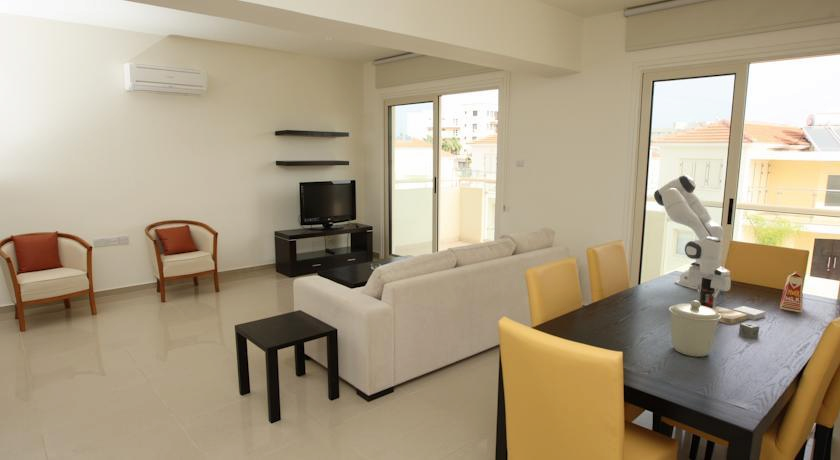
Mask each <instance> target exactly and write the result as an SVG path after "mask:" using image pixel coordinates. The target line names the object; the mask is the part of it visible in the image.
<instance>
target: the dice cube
mask: <svg viewBox="0 0 840 460" xmlns="http://www.w3.org/2000/svg"><path fill="white" fill-rule="evenodd" d="M738 330H739V331H738V336H741V337H745V338H747V339H757V338H759V332H760V325H756V324H753V323H750V322H744V323H739V329H738Z"/></svg>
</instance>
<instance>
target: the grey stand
mask: <svg viewBox="0 0 840 460" xmlns="http://www.w3.org/2000/svg"><path fill="white" fill-rule="evenodd" d="M732 310H733V311H737V312H741V313H744V314H748V318H747V320H748V319H749V320H752V321H756V320H759V319H762V318H765V316H766V311H765V310H760V309H756V308H752V307H750V306H749V307H748V306H745V305H742V306H738V307H735V308H733V309H732Z"/></svg>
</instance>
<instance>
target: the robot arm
mask: <svg viewBox="0 0 840 460" xmlns="http://www.w3.org/2000/svg"><path fill="white" fill-rule="evenodd" d="M695 189H696V184H695V180H694V179H693V178H692V177H691V176H689V175H688V174H687V175H686V174H683V175H680V176H679V177H677V178H675V179H672V180H671V181H669V182H668V183H665V184H664V185H663V186H661V187H659V188H658V189H657V190H655V191H654V194H653V197H654V200H655V202H656V203H657V204H658V205H659V206H662V207H664V209H665V212H666V213H667V216H668V217H669V219H670V220H671V221H672V222H674V223H676V224H680V225H683V226H686V227H688V228H690V229H691V230H692V231H693V232H694V233H695V235H696V237H697V239H696V240H691V241H688V242H687V243H686V244H685V246H684V253H685V256H686V257H688V258H689V259H691V260H695V261H693V262H691V263H690V267H689V269H686V270H684V271H683V272H681V274H680V275H679V279H676V280H674V283H675V284H678V285H680V286H683V287H686V288H689V289H693V290H697V294H700V293H701V284H702V278H706V279H710V280H711V286H710V287H711V288H714V293H712V297H713V298H717V296H718V293H719V292H720V291H723V292H728V291H730V289H731V284H732V282H731V277H730V275H731V271H730V270H729V269H727V268H724V267H723V266H721V257H722V255H723V253H722V252H723V242H722V241H723V239H724V237H725V235H726V234H725V230H724V228H723V227H722V225H720V224H719V223H717V222H715V220H713V219H712V217H711V215H710V213H709V211H708V210H707V208H706V206H705V205H704V203H702V201H701V199H699V197H698V195H697V194H696V193H695V192H694V191H695Z"/></svg>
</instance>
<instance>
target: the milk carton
mask: <svg viewBox="0 0 840 460" xmlns="http://www.w3.org/2000/svg"><path fill="white" fill-rule="evenodd" d="M803 279H804V277H803V276H801V275H799V274H797V270H796V271H794V273H792V274H790V275H787V279H786V281H785V283H784V287H783V291H782V295H781V299H780V304H779V305H780V306H779V309H780V310H785V311H791V312H797V313H803Z"/></svg>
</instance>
